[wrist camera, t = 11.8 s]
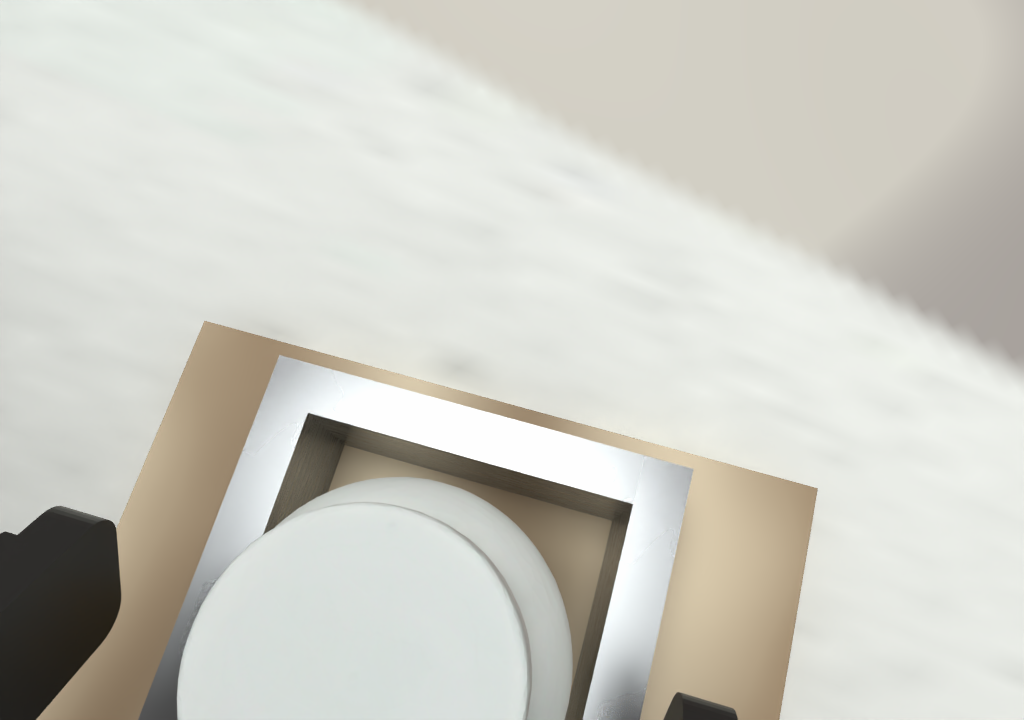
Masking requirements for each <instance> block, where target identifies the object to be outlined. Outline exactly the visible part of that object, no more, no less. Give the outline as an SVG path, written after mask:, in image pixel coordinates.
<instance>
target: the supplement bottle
mask: <svg viewBox="0 0 1024 720" xmlns="http://www.w3.org/2000/svg"><path fill="white" fill-rule="evenodd" d="M572 672H573V654H572V642H571V633H570V627H569V622H568V618H567V614H566V610H565V606H564V602H563V599H562V596H561V594H560V591H559V588H558V586H557V583H556V580H555V578H554V576H553V575H552V573H551V571H550V569H549V567H548V566H547V564H546V562H545V560H544V559H543V557H542V555H541V554H540V552H539V551H538V549H537V548H536V547H535V545H534V544H533V543H532V541H531V540H530V539H529V538H528V536H527V535H526V534H525V533H524V532H523V531H522V530H521V529H520V528H519V527H518V526H517V525H516V524H515V523H514V522H513V521H512V520H511V519H510V518H509V517H508V516H506V515H505V514H504V513H502V512H501V511H500V510H498V509H497V508H496V507H494V506H493V505H491V504H490V503H488V502H487V501H485V500H483V499H481V498H480V497H478V496H476V495H474V494H472V493H470V492H468V491H466V490H463V489H461V488H458V487H455V486H452V485H448V484H445V483H442V482H438V481H434V480H430V479H422V478H414V477H385V478H376V479H369V480H364V481H359V482H355V483H351V484H348V485H345V486H342V487H339V488H337V489H334V490H331V491H329V492H327V493H325V494H323V495H321V496H319V497H317V498H315V499H313V500H311V501H309V502H308V503H306V504H305V505H303V506H301V507H300V508H298V509H297V510H296V511H294V512H293V513H292V514H290V515H289V516H288V517H286V518H285V519H284V520H283V521H281V522H280V523H279V524H278V525H277V526H276V527H275V528H273V529H272V530H270V531H268V532H267V533H265V534H263V535H262V536H261V537H259V538H258V539H257V540H256V541H254V542H253V543H252V544H250V545H249V546H248V547H247V548H246V549H245V550H244V551H243V552H242V553H241V554H240V555H239V556H238V557H237V558H236V559H235V560H234V561H233V562H232V563H231V564H230V565H229V566H228V567H227V569H226V570H225V571H224V572H223V573H222V575H221V576H220V577H219V579H218V580H217V581H216V583H215V584H214V585H213V587H212V588H211V590H210V591H209V593H208V595H207V596H206V598H205V600H204V601H203V603H202V605H201V607H200V609H199V611H198V613H197V616H196V618H195V620H194V622H193V625H192V628H191V630H190V633H189V636H188V639H187V642H186V645H185V648H184V651H183V655H182V660H181V664H180V670H179V676H178V688H177V718H178V720H565V716H566V712H567V708H568V705H569V699H570V692H571V685H572Z"/></svg>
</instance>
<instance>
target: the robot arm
mask: <svg viewBox="0 0 1024 720" xmlns="http://www.w3.org/2000/svg"><path fill="white" fill-rule="evenodd" d="M120 605H121V583H120V570H119V557H118V543H117V532H116V527H115V525H114V523H113V522H112V521H110V520H107V519H103V518H100V517H97V516H93V515H90V514H87V513H83V512H80V511H77V510H73V509H70V508H66V507H63V506H56V507H53V508H50V509H49V510H47V511H46V512H44V513H43V514H42V515H40V516H39V517H38V518H37V519H36V520H35V521H33V522H32V523H31V524H30V525H29V526H28V527H26V528H25V529H24V530H23V531H22V532H20V533H19V534H18V535H15V534H12V533H8V532H3V533H1V534H0V720H36V719H37V718H38V717H39V716H40V715H41V713H42V712H43V711H44V710H45V709H46V708H47V706H48V705H49V704H50V703H51V702H52V701H53V699H54V698H55V697H56V696H57V695H58V694H59V692H60V691H61V690H62V689H63V688H64V687H65V685H66V684H67V683H68V682H69V681H70V680H71V679H72V677H73V676H74V675H75V674H76V673H77V672H78V670H79V669H80V668H81V667H82V666H83V665H84V663H85V662H86V661H87V660H88V659H89V658H90V656H91V655H92V654H93V653H94V652H95V651H96V649H97V648H98V647H99V646H100V645H101V644H102V642H103V641H104V640H105V638H106V637H107V635H108V634H109V632H110V631H111V629H112V627H113V625H114V623H115V621H116V618H117V616H118V613H119V610H120ZM663 720H738V718H737V714H736V711H735V710H734V709H733V708H731V707H728V706H724V705H721V704H718V703H714V702H711V701H707V700H704V699H701V698H697V697H694V696H691V695H687V694H684V693H681V692H677V693H676V694H675V695H674V697H673V699H672V701H671V703H670V706H669V708H668V710H667V712H666V715H665V717H664V719H663Z"/></svg>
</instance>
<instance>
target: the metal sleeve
mask: <svg viewBox="0 0 1024 720" xmlns="http://www.w3.org/2000/svg"><path fill="white" fill-rule="evenodd" d="M344 445H346V446H350V447H354V448H357V449H361V450H364V451H368V452H371V453H375V454H378V455H382V456H385V457H389V458H392V459H396V460H399V461H403V462H406V463H410V464H413V465H417V466H421V467H424V468H428V469H431V470H435V471H438V472H442V473H445V474H449V475H452V476H456V477H459V478H463V479H466V480H470V481H473V482H477V483H480V484H484V485H487V486H491V487H495V488H498V489H502V490H505V491H509V492H512V493H516V494H519V495H523V496H526V497H530V498H533V499H537V500H540V501H544V502H547V503H551V504H554V505H558V506H561V507H565V508H569V509H572V510H576V511H579V512H583V513H586V514H590V515H593V516H597V517H600V518H604V519H607V520H611V521H612V524H611V528H610V533H609V537H608V541H607V545H606V549H605V553H604V557H603V562H602V566H601V570H600V574H599V578H598V582H597V587H596V591H595V595H594V599H593V603H592V607H591V611H590V616H589V620H588V624H587V628H586V632H585V636H584V640H583V645H582V649H581V653H580V657H579V661H578V665H577V670H576V674H575V678H574V682H573V686H572V690H571V694H570V699H569V705H568V708H567V712H566V716H565V720H640V716H641V712H642V707H643V703H644V698H645V693H646V689H647V684H648V679H649V675H650V670H651V665H652V661H653V656H654V651H655V647H656V642H657V637H658V633H659V628H660V623H661V619H662V614H663V609H664V605H665V600H666V595H667V591H668V586H669V581H670V577H671V572H672V567H673V563H674V558H675V554H676V549H677V544H678V540H679V535H680V530H681V526H682V521H683V516H684V512H685V507H686V502H687V498H688V493H689V488H690V484H691V479H692V474H693V470H694V469H692V468H689V467H685V466H681V465H678V464H674V463H670V462H667V461H663V460H659V459H656V458H652V457H649V456H645V455H641V454H638V453H634V452H630V451H627V450H623V449H620V448H616V447H612V446H609V445H605V444H601V443H598V442H594V441H590V440H587V439H583V438H580V437H576V436H572V435H569V434H565V433H561V432H558V431H554V430H550V429H547V428H543V427H540V426H536V425H532V424H529V423H525V422H521V421H518V420H514V419H510V418H507V417H503V416H500V415H496V414H492V413H489V412H485V411H481V410H478V409H474V408H471V407H467V406H463V405H460V404H456V403H452V402H449V401H445V400H441V399H438V398H434V397H431V396H427V395H423V394H420V393H416V392H412V391H409V390H405V389H401V388H398V387H394V386H391V385H387V384H383V383H380V382H376V381H372V380H369V379H365V378H362V377H358V376H354V375H351V374H347V373H343V372H340V371H336V370H332V369H329V368H325V367H322V366H318V365H314V364H311V363H307V362H303V361H300V360H296V359H292V358H289V357H285V356H282V355H279V358H278V360H277V363H276V365H275V368H274V371H273V373H272V376H271V378H270V381H269V383H268V386H267V389H266V391H265V394H264V396H263V399H262V401H261V404H260V407H259V409H258V412H257V414H256V417H255V420H254V422H253V425H252V427H251V430H250V432H249V435H248V438H247V440H246V443H245V445H244V448H243V450H242V453H241V456H240V458H239V461H238V463H237V466H236V468H235V471H234V474H233V476H232V479H231V481H230V484H229V486H228V489H227V492H226V494H225V497H224V499H223V502H222V504H221V507H220V510H219V512H218V515H217V517H216V520H215V523H214V525H213V528H212V530H211V533H210V535H209V538H208V541H207V543H206V546H205V548H204V551H203V553H202V556H201V559H200V561H199V564H198V566H197V569H196V571H195V574H194V577H193V579H192V582H191V584H190V587H189V589H188V592H187V595H186V597H185V600H184V602H183V605H182V608H181V610H180V613H179V615H178V618H177V620H176V623H175V626H174V628H173V631H172V633H171V636H170V638H169V641H168V644H167V646H166V649H165V651H164V654H163V656H162V659H161V662H160V664H159V667H158V669H157V672H156V674H155V677H154V680H153V682H152V685H151V687H150V690H149V692H148V695H147V698H146V700H145V703H144V705H143V708H142V711H141V713H140V716H139V718H138V720H178V718H177V688H178V676H179V670H180V664H181V660H182V655H183V651H184V648H185V645H186V642H187V639H188V636H189V633H190V630H191V628H192V625H193V622H194V620H195V618H196V616H197V613H198V611H199V609H200V607H201V605H202V603H203V601H204V600H205V598H206V596H207V595H208V593H209V591H210V590H211V588H212V587H213V585H214V584H215V583H216V581H217V580H218V579H219V577H220V576H221V575H222V573H223V572H224V571H225V570H226V569H227V567H228V566H229V565H230V564H231V563H232V562H233V561H234V560H235V559H236V558H237V557H238V556H239V555H240V554H241V553H242V552H243V551H244V550H245V549H246V548H247V547H248V546H249V545H250V544H252V543H253V542H254V541H256V540H257V539H258V538H259V537H261V536H262V535H263V534H265V533H267V532H268V531H270V530H272V529H273V528H275V527H276V526H277V525H278V524H279V523H280V522H281V521H283V520H284V519H285V518H286V517H288V516H289V515H290V514H292V513H293V512H294V511H296V510H297V509H298V508H300V507H301V506H303V505H305V504H306V503H308V502H309V501H311V500H313V499H315V498H317V497H319V496H321V495H323V494H325V493H327V492H328V491H329V488H330V485H331V483H332V480H333V477H334V474H335V471H336V468H337V465H338V463H339V460H340V457H341V454H342V451H343V448H344Z"/></svg>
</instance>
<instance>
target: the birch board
mask: <svg viewBox="0 0 1024 720" xmlns="http://www.w3.org/2000/svg"><path fill="white" fill-rule="evenodd" d="M279 355H282V356H285V357H289V358H292V359H296V360H300V361H303V362H307V363H311V364H314V365H318V366H322V367H325V368H329V369H332V370H336V371H340V372H343V373H347V374H351V375H354V376H358V377H362V378H365V379H369V380H372V381H376V382H380V383H383V384H387V385H391V386H394V387H398V388H401V389H405V390H409V391H412V392H416V393H420V394H423V395H427V396H431V397H434V398H438V399H441V400H445V401H449V402H452V403H456V404H460V405H463V406H467V407H471V408H474V409H478V410H481V411H485V412H489V413H492V414H496V415H500V416H503V417H507V418H510V419H514V420H518V421H521V422H525V423H529V424H532V425H536V426H540V427H543V428H547V429H550V430H554V431H558V432H561V433H565V434H569V435H572V436H576V437H580V438H583V439H587V440H590V441H594V442H598V443H601V444H605V445H609V446H612V447H616V448H620V449H623V450H627V451H630V452H634V453H638V454H641V455H645V456H649V457H652V458H656V459H659V460H663V461H667V462H670V463H674V464H678V465H681V466H685V467H689V468H692V469H694V470H693V474H692V479H691V484H690V488H689V493H688V498H687V502H686V507H685V512H684V516H683V521H682V526H681V530H680V535H679V540H678V544H677V549H676V554H675V558H674V563H673V567H672V572H671V577H670V581H669V586H668V591H667V595H666V600H665V605H664V609H663V614H662V619H661V623H660V628H659V633H658V637H657V642H656V647H655V651H654V656H653V661H652V665H651V670H650V675H649V679H648V684H647V689H646V693H645V698H644V703H643V707H642V712H641V716H640V720H663V719H664V717H665V715H666V712H667V710H668V708H669V706H670V703H671V701H672V699H673V697H674V695H675V694H676V693H677V692H681V693H684V694H687V695H691V696H694V697H697V698H701V699H704V700H707V701H711V702H714V703H718V704H721V705H724V706H728V707H731V708H733V709H734V710H735V711H736V714H737V718H738V720H779V717H780V711H781V705H782V699H783V693H784V687H785V681H786V675H787V669H788V663H789V657H790V651H791V645H792V639H793V633H794V627H795V621H796V615H797V609H798V603H799V597H800V591H801V585H802V579H803V573H804V567H805V561H806V555H807V549H808V543H809V537H810V531H811V525H812V519H813V513H814V507H815V501H816V495H817V489H818V488H814V487H810V486H807V485H803V484H799V483H796V482H792V481H788V480H785V479H781V478H777V477H774V476H770V475H766V474H763V473H759V472H755V471H752V470H748V469H744V468H741V467H737V466H734V465H730V464H726V463H723V462H719V461H715V460H712V459H708V458H704V457H701V456H697V455H693V454H690V453H686V452H682V451H679V450H675V449H671V448H668V447H664V446H660V445H657V444H653V443H649V442H646V441H642V440H638V439H635V438H631V437H628V436H624V435H620V434H617V433H613V432H609V431H606V430H602V429H598V428H595V427H591V426H587V425H584V424H580V423H576V422H573V421H569V420H565V419H562V418H558V417H554V416H551V415H547V414H543V413H540V412H536V411H532V410H529V409H525V408H522V407H518V406H514V405H511V404H507V403H503V402H500V401H496V400H492V399H489V398H485V397H481V396H478V395H474V394H470V393H467V392H463V391H459V390H456V389H452V388H448V387H445V386H441V385H437V384H434V383H430V382H426V381H423V380H419V379H415V378H412V377H408V376H405V375H401V374H397V373H394V372H390V371H386V370H383V369H379V368H375V367H372V366H368V365H364V364H361V363H357V362H353V361H350V360H346V359H342V358H339V357H335V356H331V355H328V354H324V353H320V352H317V351H313V350H309V349H306V348H302V347H299V346H295V345H291V344H288V343H284V342H280V341H277V340H273V339H269V338H266V337H262V336H258V335H255V334H251V333H247V332H244V331H240V330H236V329H233V328H229V327H225V326H222V325H218V324H214V323H211V322H207V321H204V323H203V326H202V328H201V331H200V333H199V335H198V338H197V340H196V342H195V345H194V347H193V349H192V352H191V354H190V357H189V359H188V361H187V364H186V366H185V368H184V371H183V373H182V375H181V378H180V380H179V383H178V385H177V387H176V390H175V392H174V394H173V397H172V399H171V401H170V404H169V406H168V408H167V411H166V413H165V416H164V418H163V420H162V423H161V425H160V427H159V430H158V432H157V434H156V437H155V439H154V442H153V444H152V446H151V449H150V451H149V453H148V456H147V458H146V460H145V463H144V465H143V467H142V470H141V472H140V475H139V477H138V479H137V482H136V484H135V486H134V489H133V491H132V493H131V496H130V498H129V501H128V503H127V505H126V508H125V510H124V512H123V515H122V517H121V519H120V522H119V524H118V526H117V529H116V532H117V543H118V557H119V570H120V583H121V605H120V610H119V613H118V616H117V618H116V621H115V623H114V625H113V627H112V629H111V631H110V632H109V634H108V635H107V637H106V638H105V640H104V641H103V642H102V644H101V645H100V646H99V647H98V648H97V649H96V651H95V652H94V653H93V654H92V655H91V656H90V658H89V659H88V660H87V661H86V662H85V663H84V665H83V666H82V667H81V668H80V669H79V670H78V672H77V673H76V674H75V675H74V676H73V677H72V679H71V680H70V681H69V682H68V683H67V684H66V685H65V687H64V688H63V689H62V690H61V691H60V692H59V694H58V695H57V696H56V697H55V698H54V699H53V701H52V702H51V703H50V704H49V705H48V706H47V708H46V709H45V710H44V711H43V712H42V713H41V715H40V716H39V717H38V718H37V719H36V720H138V718H139V716H140V713H141V711H142V708H143V705H144V703H145V700H146V698H147V695H148V692H149V690H150V687H151V685H152V682H153V680H154V677H155V674H156V672H157V669H158V667H159V664H160V662H161V659H162V656H163V654H164V651H165V649H166V646H167V644H168V641H169V638H170V636H171V633H172V631H173V628H174V626H175V623H176V620H177V618H178V615H179V613H180V610H181V608H182V605H183V602H184V600H185V597H186V595H187V592H188V589H189V587H190V584H191V582H192V579H193V577H194V574H195V571H196V569H197V566H198V564H199V561H200V559H201V556H202V553H203V551H204V548H205V546H206V543H207V541H208V538H209V535H210V533H211V530H212V528H213V525H214V523H215V520H216V517H217V515H218V512H219V510H220V507H221V504H222V502H223V499H224V497H225V494H226V492H227V489H228V486H229V484H230V481H231V479H232V476H233V474H234V471H235V468H236V466H237V463H238V461H239V458H240V456H241V453H242V450H243V448H244V445H245V443H246V440H247V438H248V435H249V432H250V430H251V427H252V425H253V422H254V420H255V417H256V414H257V412H258V409H259V407H260V404H261V401H262V399H263V396H264V394H265V391H266V389H267V386H268V383H269V381H270V378H271V376H272V373H273V371H274V368H275V365H276V363H277V360H278V358H279ZM385 477H414V478H422V479H430V480H434V481H438V482H442V483H445V484H448V485H452V486H455V487H458V488H461V489H463V490H466V491H468V492H470V493H472V494H474V495H476V496H478V497H480V498H481V499H483V500H485V501H487V502H488V503H490V504H491V505H493V506H494V507H496V508H497V509H498V510H500V511H501V512H502V513H504V514H505V515H506V516H508V517H509V518H510V519H511V520H512V521H513V522H514V523H515V524H516V525H517V526H518V527H519V528H520V529H521V530H522V531H523V532H524V533H525V534H526V535H527V536H528V538H529V539H530V540H531V541H532V543H533V544H534V545H535V547H536V548H537V549H538V551H539V552H540V554H541V555H542V557H543V559H544V560H545V562H546V564H547V566H548V567H549V569H550V571H551V573H552V575H553V576H554V578H555V580H556V583H557V586H558V588H559V591H560V594H561V596H562V599H563V602H564V606H565V610H566V614H567V618H568V622H569V627H570V633H571V642H572V654H573V672H572V685H571V690H572V686H573V682H574V678H575V674H576V670H577V665H578V661H579V657H580V653H581V649H582V645H583V640H584V636H585V632H586V628H587V624H588V620H589V616H590V611H591V607H592V603H593V599H594V595H595V591H596V587H597V582H598V578H599V574H600V570H601V566H602V562H603V557H604V553H605V549H606V545H607V541H608V537H609V533H610V528H611V524H612V521H611V520H607V519H604V518H600V517H597V516H593V515H590V514H586V513H583V512H579V511H576V510H572V509H569V508H565V507H561V506H558V505H554V504H551V503H547V502H544V501H540V500H537V499H533V498H530V497H526V496H523V495H519V494H516V493H512V492H509V491H505V490H502V489H498V488H495V487H491V486H487V485H484V484H480V483H477V482H473V481H470V480H466V479H463V478H459V477H456V476H452V475H449V474H445V473H442V472H438V471H435V470H431V469H428V468H424V467H421V466H417V465H413V464H410V463H406V462H403V461H399V460H396V459H392V458H389V457H385V456H382V455H378V454H375V453H371V452H368V451H364V450H361V449H357V448H354V447H350V446H346V445H344V448H343V451H342V454H341V457H340V460H339V463H338V465H337V468H336V471H335V474H334V477H333V480H332V483H331V485H330V488H329V491H331V490H334V489H337V488H339V487H342V486H345V485H348V484H351V483H355V482H359V481H364V480H369V479H376V478H385ZM329 491H328V492H329ZM570 694H571V692H570Z"/></svg>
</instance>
